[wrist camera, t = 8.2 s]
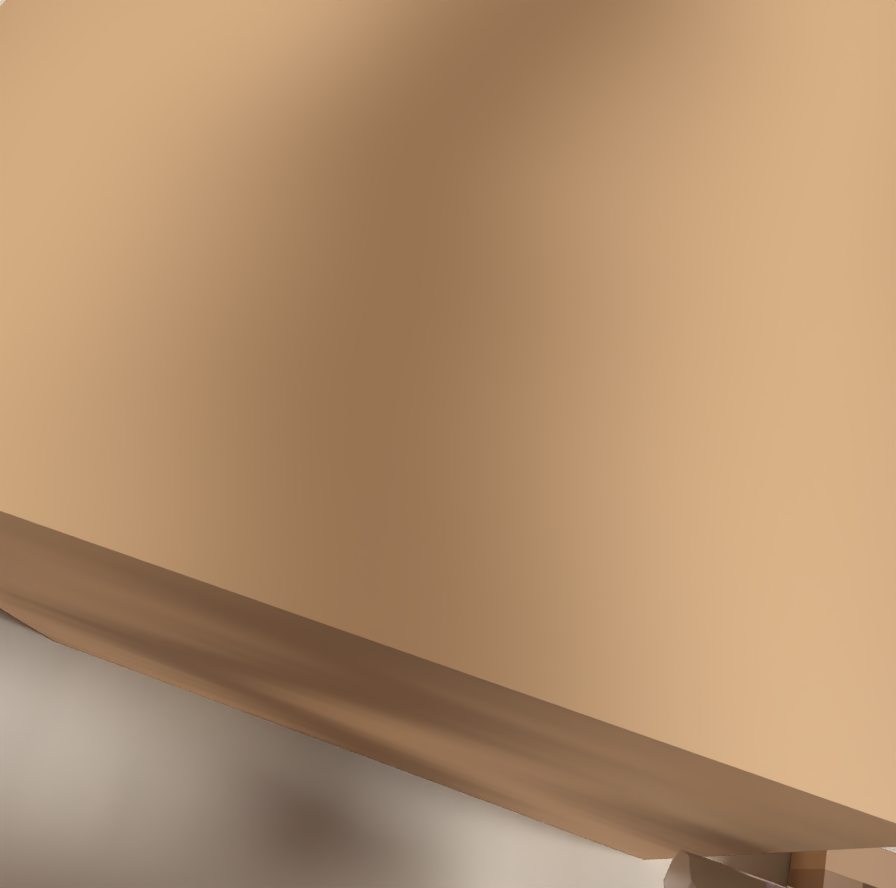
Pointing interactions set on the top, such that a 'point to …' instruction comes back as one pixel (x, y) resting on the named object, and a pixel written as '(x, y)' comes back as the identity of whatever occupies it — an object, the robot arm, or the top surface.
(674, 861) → the robot arm
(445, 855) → the top surface
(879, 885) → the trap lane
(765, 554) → the block
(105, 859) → the top surface
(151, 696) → the top surface
